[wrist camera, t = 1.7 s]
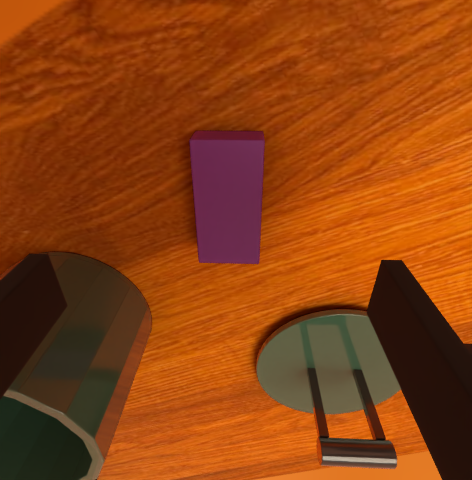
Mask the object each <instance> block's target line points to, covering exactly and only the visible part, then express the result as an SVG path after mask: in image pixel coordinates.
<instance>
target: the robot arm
mask: <svg viewBox="0 0 472 480" xmlns="http://www.w3.org/2000/svg"><path fill="white" fill-rule="evenodd" d="M67 306H68V305H67V303H66V300H65V297H64V295H63V292H62V289H61V287H60V284H59V281H58V279H57V276H56V273H55V271H54V268H53V265H52V263H51V260H50V257H49V255H48V254H29V255H28V256H27V257H25V258H24V259H23V260H22V261H21V262H20V263H19V264H18V265H17V266H16V267H14V268H13V269H12V270H11V271H10V272H9V273H8V274H7V275H6V276H5V277H4V278H2V279H1V280H0V400H1V398H2V397H3V395H4V394H5V393H6V391H7V390H8V388H9V387H10V386H11V384H12V383H13V381H14V380H15V379H16V377H17V376H18V374H19V373H20V372H21V370H22V369H23V367H24V366H25V365H26V363H27V362H28V360H29V359H30V358H31V356H32V355H33V353H34V352H35V351H36V349H37V348H38V347H39V345H40V344H41V342H42V341H43V340H44V338H45V337H46V335H47V334H48V333H49V331H50V330H51V328H52V327H53V326H54V324H55V323H56V321H57V320H58V319H59V317H60V316H61V314H62V313H63V312H64V310H65V309H66V307H67ZM366 313H367V315H368V317H369V319H370V322H371V324H372V326H373V328H374V330H375V333H376V335H377V337H378V339H379V341H380V344H381V346H382V348H383V350H384V352H385V355H386V357H387V359H388V361H389V363H390V366H391V368H392V370H393V372H394V374H395V377H396V379H397V381H398V383H399V385H400V388H401V390H402V392H403V394H404V397H405V399H406V401H407V403H408V405H409V408H410V410H411V412H412V414H413V416H414V419H415V421H416V423H417V425H418V427H419V430H420V432H421V434H422V436H423V438H424V441H425V443H426V445H427V447H428V449H429V452H430V454H431V456H432V458H433V460H434V463H435V465H436V467H437V469H438V471H439V474H440V476H441V478H442V480H472V344H463V342H462V341H461V340H460V338H459V337H458V336H457V334H456V333H455V332H454V330H453V329H452V328H451V326H450V325H449V323H448V322H447V321H446V319H445V318H444V317H443V315H442V314H441V313H440V311H439V310H438V309H437V307H436V306H435V305H434V303H433V302H432V300H431V299H430V298H429V296H428V295H427V294H426V292H425V291H424V290H423V288H422V287H421V286H420V284H419V283H418V282H417V280H416V279H415V277H414V276H413V275H412V273H411V272H410V271H409V269H408V268H407V267H406V265H405V264H404V263H403V261H402V260H381V264H380V267H379V271H378V274H377V278H376V281H375V285H374V288H373V292H372V295H371V298H370V302H369V305H368V309H367V312H366Z"/></svg>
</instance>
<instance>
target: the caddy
mask: <svg viewBox="0 0 472 480" xmlns="http://www.w3.org/2000/svg"><path fill="white" fill-rule="evenodd" d="M39 254H48V255H49V257H50V260H51V263H52V265H53V268H54V271H55V273H56V276H57V279H58V281H59V284H60V287H61V289H62V292H63V295H64V297H65V300H66V303H67V305H68V306H67V307H66V309H65V310H64V312H63V313H62V314H61V316H60V317H59V319H58V320H57V321H56V323H55V324H54V326H53V327H52V328H51V330H50V331H49V333H48V334H47V335H46V337H45V338H44V340H43V341H42V342H41V344H40V345H39V347H38V348H37V349H36V351H35V352H34V353H33V355H32V356H31V358H30V359H29V360H28V362H27V363H26V365H25V366H24V367H23V369H22V370H21V372H20V373H19V374H18V376H17V377H16V379H15V380H14V381H13V383H12V384H11V386H10V387H9V388H8V390H7V391H6V393H5V394H4V395H3V397H2V398H1V400H0V480H95V479H97V478H98V477H99V474H100V471H101V469H102V466H103V464H104V461H105V459H106V456H107V453H108V450H109V447H110V445H111V442H112V439H113V436H114V433H115V431H116V428H117V425H118V422H119V419H120V417H121V414H122V411H123V408H124V405H125V403H126V400H127V397H128V394H129V391H130V389H131V386H132V383H133V380H134V377H135V375H136V372H137V369H138V366H139V363H140V361H141V358H142V355H143V352H144V349H145V347H146V344H147V341H148V338H149V335H150V333H151V327H152V318H151V312H150V309H149V306H148V304H147V302H146V300H145V298H144V297H143V295H142V294H141V292H140V291H139V290H138V289H137V287H136V286H135V285H134V284H133V283H132V282H131V281H130V280H129V279H127V278H126V277H125V276H124V275H122V274H121V273H120V272H118V271H116V270H115V269H113V268H112V267H110V266H108V265H106V264H104V263H102V262H100V261H97V260H95V259H92V258H89V257H86V256H82V255H79V254H73V253H67V252H45V253H39ZM22 260H23V259H22ZM22 260H20V261H19V262H17V263H16V264H13V265H12V266H10V267H9V268H8V269H7V270H6V271H5V272H4V273H2V274H1V275H0V280H1V279H2V278H4V277H5V276H6V275H7V274H8V273H9V272H10V271H11V270H12V269H13V268H14V267H16V266H17V265H18V264H19V263H20V262H21V261H22Z"/></svg>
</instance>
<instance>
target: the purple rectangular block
mask: <svg viewBox="0 0 472 480" xmlns="http://www.w3.org/2000/svg"><path fill="white" fill-rule="evenodd" d="M189 144H190V157H191V169H192V182H193V195H194V207H195V220H196V232H197V245H198V258H199V262H200V263H241V264H259V257H260V235H261V212H262V189H263V167H264V144H265V141H264V134H263V131H195V133H194V134H193V136H192V137H191V138H190V140H189Z"/></svg>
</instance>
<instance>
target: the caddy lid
mask: <svg viewBox="0 0 472 480" xmlns="http://www.w3.org/2000/svg"><path fill="white" fill-rule="evenodd" d="M256 370H257V377H258V380H259V382H260V385H261V386H262V388H263V389H264V391H265V392H266V393H267V394H268V395H269V396H270V397H272V398H273V399H274V400H276V401H277V402H279V403H281V404H282V405H285V406H287V407H289V408H292V409H295V410H298V411H302V412H307V413H314V417H315V423H316V428H317V434H318V438H317V455H318V461H319V464H320V465H321V466H338V467H360V468H382V469H383V468H384V469H395V468H396V467H397V456H396V452H395V449H394V446H393V444H392V443H391V441H389V440H386V438H385V435H384V432H383V429H382V426H381V423H380V421H379V418H378V415H377V412H376V409H375V406H374V405H377V404H379V403H381V402H383V401H385V400H387V399H388V398H390V397H392V396H393V395H394V394H396V393H397V392H398V391H399V390H401V388H400V385H399V383H398V381H397V379H396V377H395V374H394V372H393V370H392V368H391V366H390V363H389V361H388V359H387V357H386V355H385V352H384V350H383V348H382V346H381V344H380V341H379V339H378V337H377V335H376V333H375V330H374V328H373V326H372V324H371V322H370V319H369V317H368V315H367V313H366V311H361V310H351V309H334V310H325V311H319V312H315V313H311V314H307V315H304V316H301V317H299V318H296V319H294V320H292V321H290V322H288V323H286V324H284V325H283V326H281V327H280V328H278V329H277V330H276V331H274V332H273V333H272V334H271V335H270V336H269V337H268V338H267V340H266V341H265V342H264V343H263V345H262V347H261V348H260V350H259V353H258V356H257V362H256ZM362 409H364V412H365V415H366V418H367V421H368V424H369V428H370V431H371V434H372V437H373V440H371V439H347V438H329V433H328V428H327V423H326V418H325V414H342V413H349V412H354V411H359V410H362Z"/></svg>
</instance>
